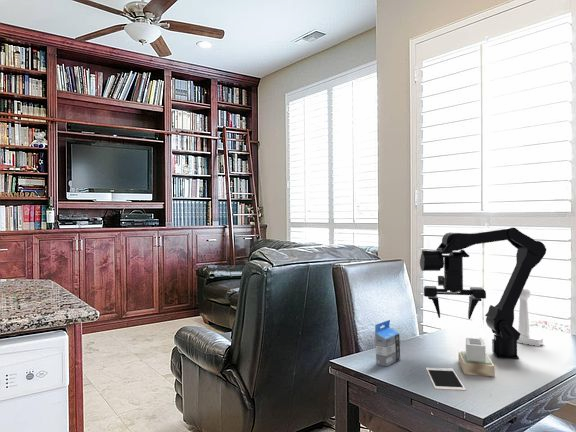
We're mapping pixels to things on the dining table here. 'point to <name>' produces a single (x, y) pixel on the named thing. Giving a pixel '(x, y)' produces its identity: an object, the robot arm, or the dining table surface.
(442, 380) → the cell phone
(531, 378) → the dining table surface
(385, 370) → the dining table surface
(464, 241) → the robot arm
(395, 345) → the label tape box
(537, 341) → the joystick
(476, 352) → the box
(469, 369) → the stand
